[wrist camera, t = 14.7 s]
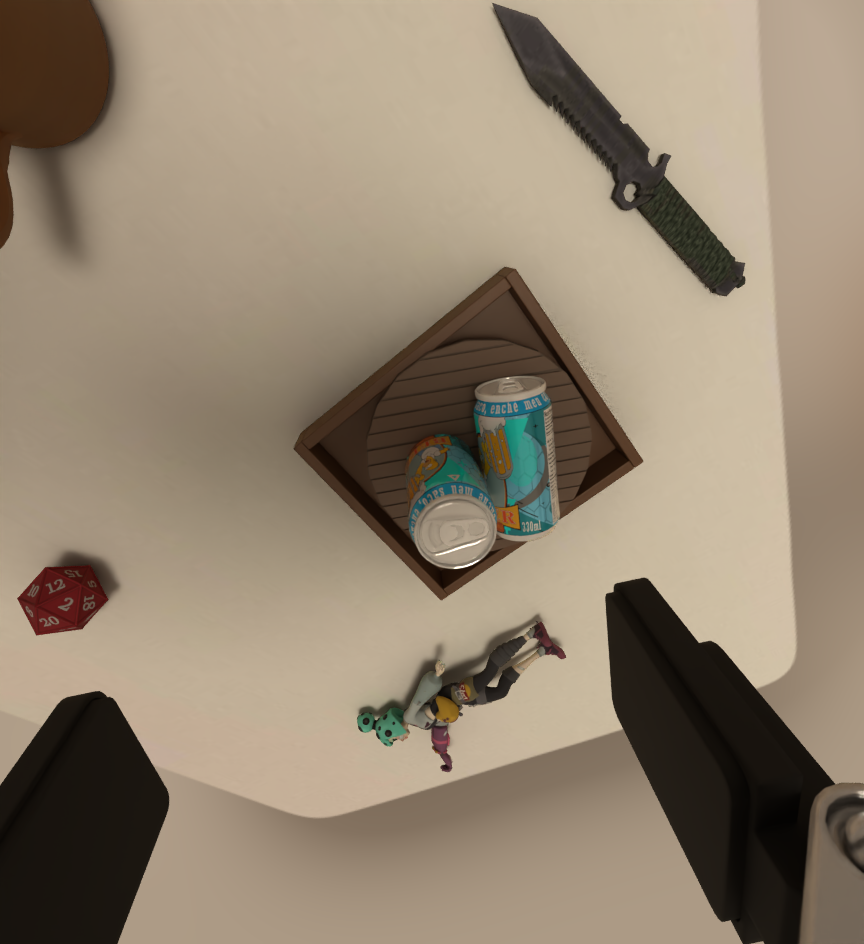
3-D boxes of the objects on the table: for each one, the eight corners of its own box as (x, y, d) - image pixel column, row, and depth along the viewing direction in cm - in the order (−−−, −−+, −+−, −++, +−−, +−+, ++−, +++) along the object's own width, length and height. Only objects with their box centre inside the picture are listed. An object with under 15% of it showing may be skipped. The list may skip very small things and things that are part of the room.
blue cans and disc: (343, 360, 26) (324, 403, 19) (584, 318, 26) (659, 344, 19) (389, 565, 31) (389, 664, 23) (593, 529, 31) (657, 616, 23)
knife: (766, 265, 27) (721, 312, 28) (756, 265, 28) (712, 310, 29) (515, -34, 22) (468, 34, 23) (511, -24, 23) (465, 42, 24)
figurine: (434, 786, 39) (425, 739, 42) (591, 676, 34) (569, 632, 37) (357, 765, 35) (354, 716, 38) (522, 639, 31) (504, 593, 33)
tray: (437, 577, 34) (441, 601, 32) (300, 433, 30) (292, 448, 28) (626, 446, 32) (644, 462, 29) (505, 266, 27) (515, 268, 25)
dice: (70, 614, 34) (30, 659, 30) (35, 555, 32) (-12, 595, 28) (127, 601, 33) (95, 645, 30) (95, 541, 32) (57, 580, 28)
